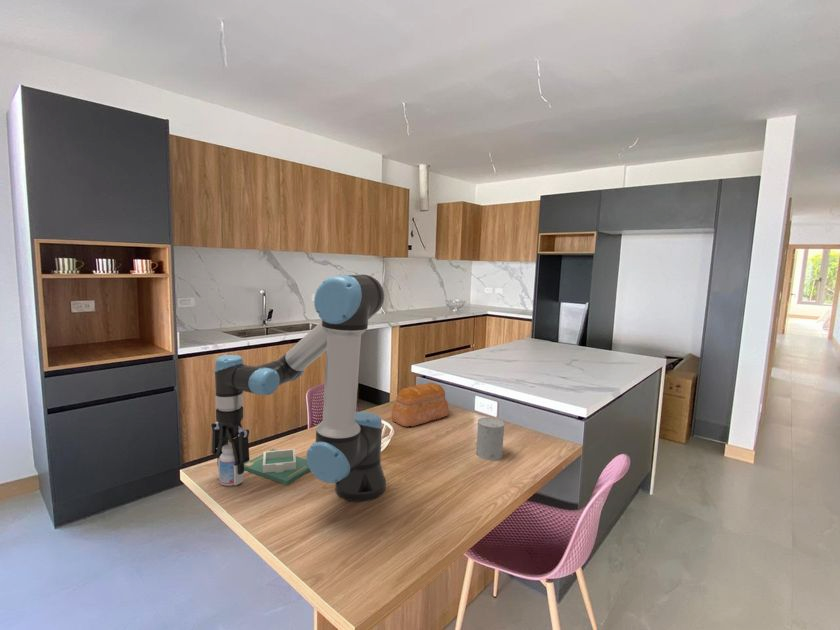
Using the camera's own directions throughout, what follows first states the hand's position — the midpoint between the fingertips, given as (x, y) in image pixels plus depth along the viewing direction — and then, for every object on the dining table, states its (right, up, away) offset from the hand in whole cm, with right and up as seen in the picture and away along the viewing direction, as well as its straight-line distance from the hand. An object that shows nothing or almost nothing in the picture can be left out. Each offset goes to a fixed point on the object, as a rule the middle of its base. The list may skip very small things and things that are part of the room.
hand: (230, 480), depth 129 cm
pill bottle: (0, -1, 0) cm, 1 cm away
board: (+12, 0, +10) cm, 15 cm away
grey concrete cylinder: (+83, -1, +26) cm, 87 cm away
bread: (+58, +4, +59) cm, 83 cm away
